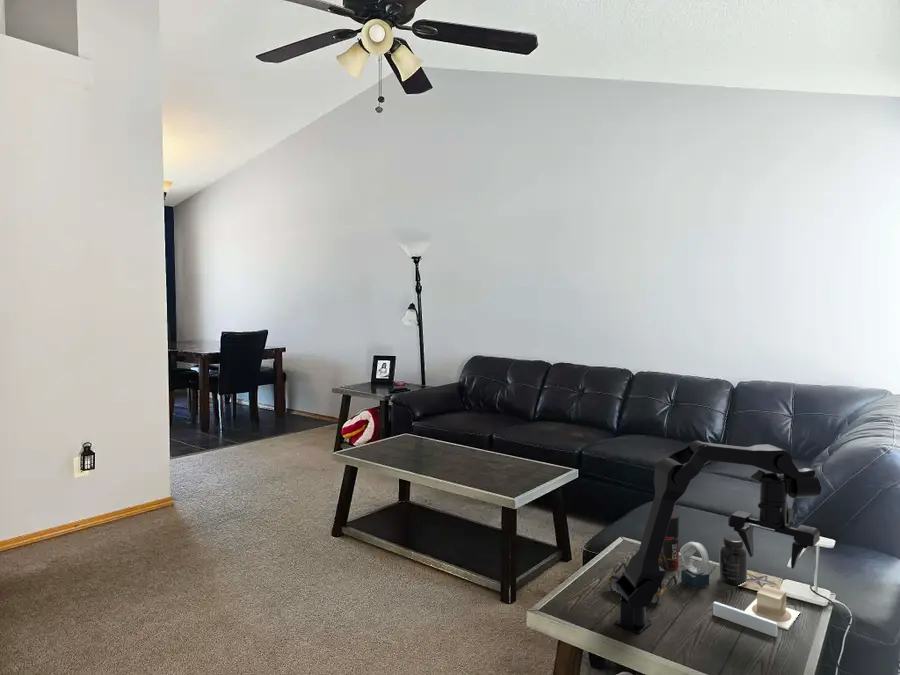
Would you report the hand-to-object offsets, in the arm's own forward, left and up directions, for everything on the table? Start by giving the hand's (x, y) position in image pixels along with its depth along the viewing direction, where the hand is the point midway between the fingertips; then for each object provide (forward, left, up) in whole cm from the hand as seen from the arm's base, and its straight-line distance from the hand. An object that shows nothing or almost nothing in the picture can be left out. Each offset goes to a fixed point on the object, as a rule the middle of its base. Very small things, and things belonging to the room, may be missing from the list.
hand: (771, 562), depth 145 cm
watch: (+3, +20, -13) cm, 24 cm away
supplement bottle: (+11, +13, -13) cm, 22 cm away
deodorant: (+8, +30, -13) cm, 34 cm away
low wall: (-9, +3, -13) cm, 16 cm away
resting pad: (0, 0, -13) cm, 13 cm away
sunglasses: (-9, +29, -14) cm, 33 cm away
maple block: (0, 0, -12) cm, 12 cm away
